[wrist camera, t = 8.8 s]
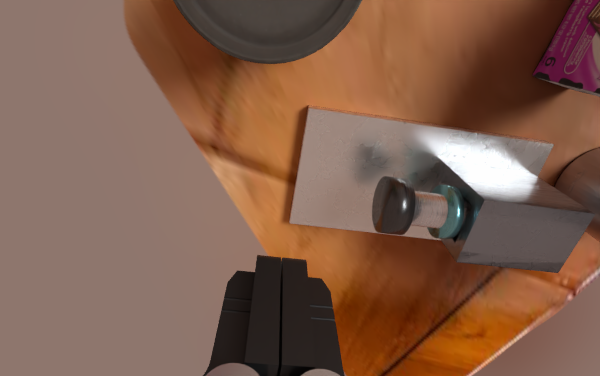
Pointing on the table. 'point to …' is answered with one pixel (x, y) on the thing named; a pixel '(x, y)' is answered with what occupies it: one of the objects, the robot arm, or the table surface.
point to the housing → (438, 171)
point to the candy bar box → (575, 50)
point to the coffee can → (268, 26)
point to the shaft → (418, 208)
